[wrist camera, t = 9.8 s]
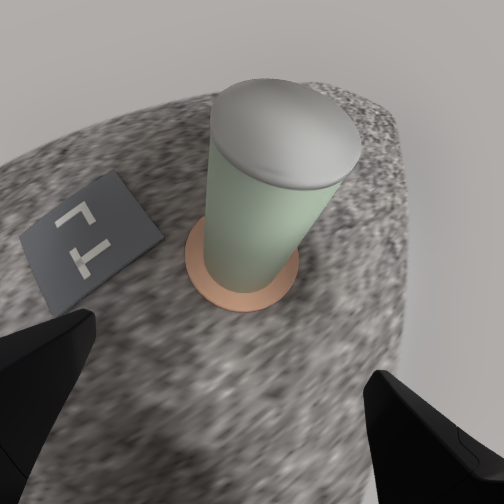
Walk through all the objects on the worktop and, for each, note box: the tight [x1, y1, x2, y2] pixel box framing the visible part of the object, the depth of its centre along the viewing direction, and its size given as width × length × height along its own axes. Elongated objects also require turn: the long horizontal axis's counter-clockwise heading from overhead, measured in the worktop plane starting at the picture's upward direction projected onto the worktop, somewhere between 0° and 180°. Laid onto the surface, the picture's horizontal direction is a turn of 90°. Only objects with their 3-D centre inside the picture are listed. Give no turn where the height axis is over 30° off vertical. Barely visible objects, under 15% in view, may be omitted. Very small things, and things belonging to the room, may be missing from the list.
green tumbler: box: [203, 79, 361, 293], centre depth 15 cm, size 6×6×12 cm
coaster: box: [185, 215, 299, 313], centre depth 21 cm, size 8×8×1 cm
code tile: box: [19, 170, 165, 318], centre depth 19 cm, size 10×8×1 cm
